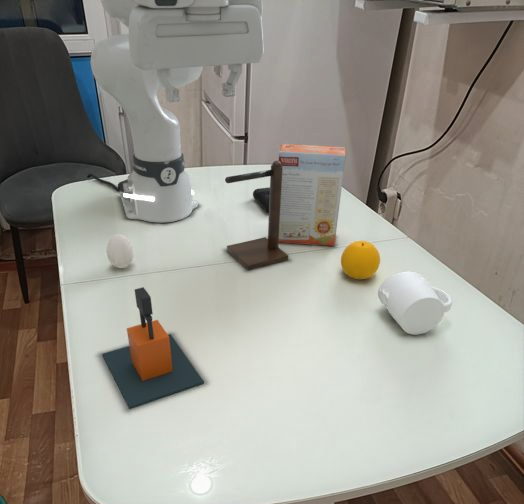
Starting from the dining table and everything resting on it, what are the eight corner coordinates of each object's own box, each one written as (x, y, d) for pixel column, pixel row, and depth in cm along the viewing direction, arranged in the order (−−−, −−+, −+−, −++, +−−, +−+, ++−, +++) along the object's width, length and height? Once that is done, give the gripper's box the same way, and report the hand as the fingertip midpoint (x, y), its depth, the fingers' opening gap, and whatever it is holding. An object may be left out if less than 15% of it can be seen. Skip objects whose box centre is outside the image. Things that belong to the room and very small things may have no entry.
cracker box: (334, 235, 122) (346, 145, 109) (334, 247, 118) (346, 154, 105) (276, 231, 123) (280, 141, 110) (274, 242, 118) (278, 150, 105)
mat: (102, 355, 84) (102, 353, 84) (170, 335, 89) (170, 333, 89) (129, 408, 75) (129, 406, 75) (204, 383, 80) (204, 381, 80)
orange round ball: (384, 275, 108) (390, 243, 104) (363, 288, 104) (369, 255, 99) (353, 261, 112) (358, 230, 108) (331, 274, 108) (336, 242, 103)
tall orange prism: (132, 363, 83) (119, 288, 74) (161, 354, 85) (152, 280, 76) (142, 381, 79) (131, 306, 70) (172, 371, 81) (165, 297, 73)
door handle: (343, 203, 132) (317, 178, 143) (272, 212, 126) (250, 185, 137) (341, 215, 134) (315, 189, 145) (271, 225, 128) (249, 197, 139)
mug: (392, 337, 91) (401, 299, 86) (374, 308, 98) (381, 271, 93) (454, 331, 93) (466, 294, 88) (432, 303, 100) (442, 267, 95)
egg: (111, 275, 105) (106, 242, 100) (107, 263, 108) (102, 231, 104) (137, 271, 106) (133, 238, 102) (132, 259, 110) (128, 227, 105)
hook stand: (216, 253, 114) (213, 161, 101) (266, 241, 119) (269, 152, 106) (237, 273, 107) (237, 177, 94) (288, 260, 112) (295, 167, 100)
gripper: (252, -13, 77) (250, 89, 85) (118, -13, 68) (131, 99, 77) (273, -9, 73) (269, 97, 81) (134, -9, 64) (146, 109, 73)
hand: (201, 98), depth 79 cm, fingers open, 8 cm apart
